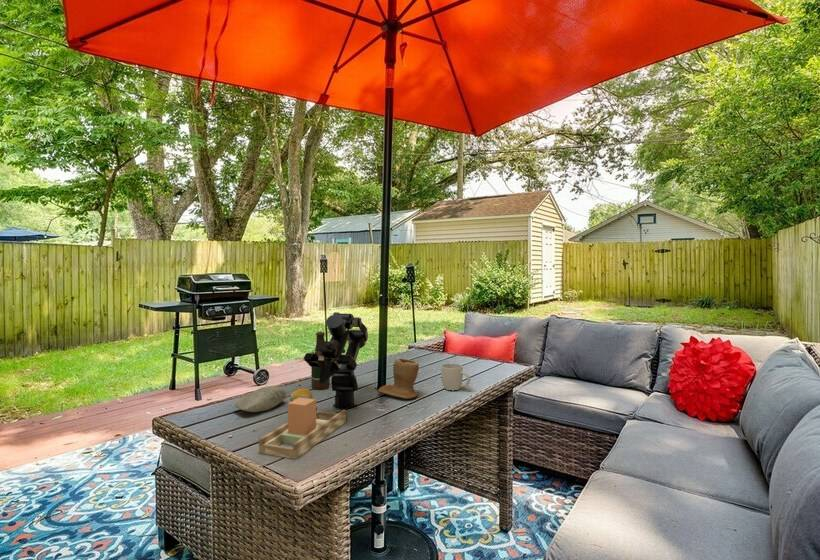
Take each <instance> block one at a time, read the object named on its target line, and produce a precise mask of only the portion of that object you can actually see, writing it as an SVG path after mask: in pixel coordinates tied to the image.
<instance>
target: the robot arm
mask: <svg viewBox="0 0 820 560" xmlns="http://www.w3.org/2000/svg"><path fill="white" fill-rule="evenodd" d="M325 324H326V327H327V329H328V332H329V334H330V335H331V337H330V340H329V341H327V340H324V341H317V342H316V341H315V342H316V344H315V348H314V351H317V350H318V351H320V354H321V355H323V356H318V355H317V354H316V353H315V352H306V353H305V354H304V356H303V358H302V359H303V360H304V361H305V362H306V363H307V364H308V366H309V367H310V368H311V367H316V368H318V367H320V378H319V383H320V384H323V383H324V382H325V381H327V380H328V379H329V378H331V379H330V384H331V389H332V392H335V395H334V404H333V405H332V406H333V407H335V408H338V409H341V410H348V409H350V408H354V407H357V406H358V405H357V403H355V392H356V391H358V388H359V387H358V386H359V385H358V381H357V377H356V375H355V370H356V369H357V366H358V364H357V360H358V359H357V358H358V355H359V351H360V349H362V348H363V347H365V345H366V344H367V342H368V340H369V334H368V333H369V332H368V328H367V326H366V325H365V324H364V323H363V321H362V318H361V317H358V316H357V317H355V316H354V315H353V313H340V312H337V311H336V312H335V311H334V312H333V314H332V315H330V316H328V317H327V319H326V320H325ZM353 328H358V329H353ZM347 344H348V346H347V350H346V349H345V347H346V345H347Z"/></svg>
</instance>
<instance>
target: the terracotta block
mask: <svg viewBox="0 0 820 560" xmlns="http://www.w3.org/2000/svg"><path fill="white" fill-rule="evenodd" d="M316 407H317V399H314V398H311V399H308V398H297V399H295V400H293V401H292V400H291V401H290V402H288V403H287V422H288V433H293V434H300V435H307V434H308V433H310V432H311V431H313V430H314V429H316Z"/></svg>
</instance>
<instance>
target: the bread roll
mask: <svg viewBox="0 0 820 560" xmlns="http://www.w3.org/2000/svg"><path fill="white" fill-rule="evenodd" d="M297 398H308V399H313V393H312V391H311V390H310V389H308V388H299V389H296V390H295V391H293V392H292V393H291V395H290V400H291V401H293V400H295V399H297Z"/></svg>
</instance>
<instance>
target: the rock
mask: <svg viewBox="0 0 820 560" xmlns="http://www.w3.org/2000/svg"><path fill="white" fill-rule="evenodd" d="M286 396H287V391H286V389H285V388H283V387H281V386H278V385H267V386H263V387H260V388H258V389H256V390H254V391H252V392H250V393H248V394H245V395H244V396H243V397H240V398H239V399H237V400H236V402H235V403H234V404H233V406H234V407H236V408H237V409H239V410H241V411H244V412H247V413H261V412H266V411H269V410H271V409H273V408H275V407H277V406H278V405H279V404H281V403H282V402H283V401H284V400H285V399H286Z"/></svg>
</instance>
